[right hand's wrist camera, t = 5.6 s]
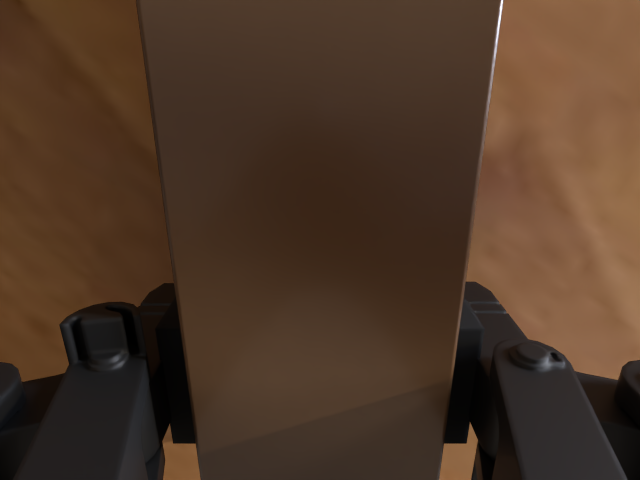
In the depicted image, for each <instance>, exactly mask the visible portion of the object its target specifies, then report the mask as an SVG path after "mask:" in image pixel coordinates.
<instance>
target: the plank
mask: <svg viewBox="0 0 640 480" xmlns="http://www.w3.org/2000/svg"><path fill="white" fill-rule="evenodd" d="M503 2H504V0H136V5H137V12H138V20H139V27H140V34H141V42H142V49H143V57H144V64H145V71H146V79H147V86H148V94H149V101H150V108H151V116H152V123H153V131H154V138H155V145H156V153H157V160H158V167H159V175H160V182H161V190H162V197H163V204H164V212H165V219H166V227H167V234H168V241H169V249H170V256H171V263H172V271H173V278H174V286H175V293H176V300H177V308H178V315H179V323H180V330H181V337H182V345H183V352H184V359H185V367H186V374H187V382H188V389H189V396H190V404H191V411H192V419H193V426H194V433H195V441H196V448H197V455H198V463H199V470H200V478H201V480H439V476H440V468H441V461H442V453H443V446H444V439H445V431H446V424H447V416H448V409H449V402H450V394H451V387H452V379H453V372H454V364H455V357H456V350H457V342H458V335H459V327H460V320H461V313H462V305H463V298H464V290H465V283H466V276H467V268H468V261H469V253H470V246H471V239H472V231H473V224H474V216H475V209H476V202H477V194H478V187H479V179H480V172H481V165H482V157H483V150H484V142H485V135H486V128H487V120H488V113H489V105H490V98H491V90H492V83H493V76H494V68H495V61H496V53H497V46H498V39H499V31H500V24H501V16H502V9H503Z"/></svg>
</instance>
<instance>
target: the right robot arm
mask: <svg viewBox="0 0 640 480" xmlns="http://www.w3.org/2000/svg"><path fill="white" fill-rule="evenodd" d="M60 329H61V333H62V337H63V341H64V345H65V349H66V353H67V357H68V361H69V366H68V368H67V370H66V372H65V373H64V374H60V375H56V376H51V377H46V378H41V379H36V380H31V381H25V382H22V381H21V377H20V374H19V371H18V369H17V368H16V367H15V366H14V365H12V364H10V363H3V362H0V480H163V474H164V466H165V456H164V449H163V443H162V440H163V438H164V436H165V433H166V431H167V429H168V426H169V424H170V426H171V432H172V438H173V443H196V441H195V433H194V426H193V419H192V411H191V404H190V396H189V389H188V382H187V374H186V367H185V359H184V352H183V345H182V337H181V330H180V323H179V315H178V308H177V300H176V293H175V286H174V283H164V284H162V285H161V286H159V287H158V288H156V289H154V290H153V291H151V292H150V293H149V294H148V295H147V296H146V298H145V299H144V300H143V301H142V303H141V306H139V307H138V308H137V307H136V306H135V305H133V304H129V303H125V302H107V303H101V304H96V305H92V306H89V307H86V308H83V309H81V310H78V311H77V312H75V313H73V314H71V315H70V316H68V317H66V318H65V320H64V321H63V322H62V323H61V324H60ZM470 422H471V425H472V427H473V429H474V432H475V434H476V436H477V439H478V443H477V449H476V455H475V461H474V467H473V472H472V478H471V480H640V360H637V361H630V362H628V363H627V364H625V365H624V366H623V367H622V370H621V373H620V376H619V379H618V380H614V379H609V378H604V377H599V376H594V375H589V374H584V373H580V372H576V371H574V369H573V367H572V365H571V363H570V362H569V361H568V360H567V358H566V357H565V356H564V355H563V354H561V353H560V352H558V351H557V350H556V349H554V348H553V347H550V346H548V345H545V344H543V343H541V342H538V341H533V340H528V339H527V337H526V336H525V335H524V333H523V332H522V331H521V330H520V328H519V327H518V326H517V324H516V323H515V322H514V321H513V319H512V318H511V317H510V315H509V314H506V310H505V309H504V308H503V306H502V305H501V304H499V301H498V300H497V299H496V297H495V296H494V295H493V294H492V292H491V291H490V290H488V289H486V288H485V287H483V286H481V285H480V284H478V283H477V282H466V283H465V290H464V298H463V305H462V313H461V320H460V327H459V335H458V342H457V350H456V357H455V364H454V372H453V379H452V387H451V394H450V402H449V409H448V416H447V424H446V431H445V439H444V443H467V437H468V431H469V424H470Z"/></svg>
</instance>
